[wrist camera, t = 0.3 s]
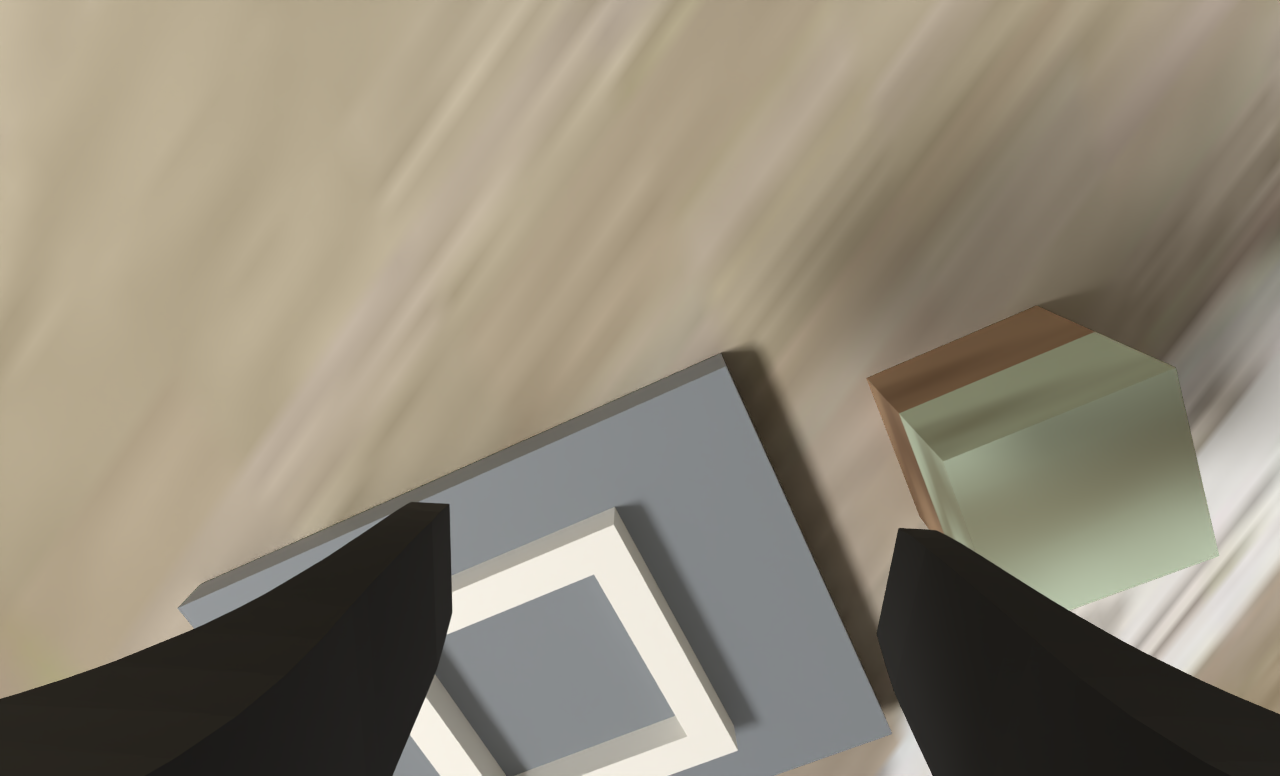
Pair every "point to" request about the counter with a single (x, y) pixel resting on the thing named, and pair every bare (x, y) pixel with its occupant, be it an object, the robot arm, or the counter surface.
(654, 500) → the pocket board
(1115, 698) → the robot arm
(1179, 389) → the block stack
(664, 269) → the counter surface
